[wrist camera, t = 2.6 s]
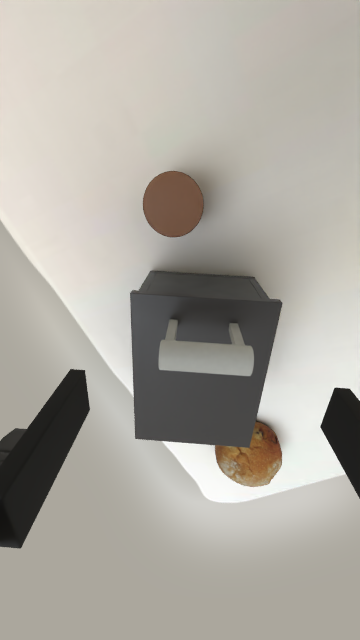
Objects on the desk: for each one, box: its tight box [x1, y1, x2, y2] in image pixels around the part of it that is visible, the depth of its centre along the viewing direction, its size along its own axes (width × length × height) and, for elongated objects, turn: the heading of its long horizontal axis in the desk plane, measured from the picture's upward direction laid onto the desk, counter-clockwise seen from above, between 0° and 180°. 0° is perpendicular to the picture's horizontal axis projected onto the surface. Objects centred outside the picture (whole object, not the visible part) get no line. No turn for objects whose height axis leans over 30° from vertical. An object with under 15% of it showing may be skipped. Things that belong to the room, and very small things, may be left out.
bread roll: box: [215, 422, 282, 487], centre depth 40 cm, size 10×10×8 cm
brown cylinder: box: [143, 171, 203, 237], centre depth 25 cm, size 5×5×7 cm
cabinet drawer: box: [130, 290, 282, 448], centre depth 22 cm, size 16×12×7 cm
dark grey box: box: [139, 271, 269, 299], centre depth 30 cm, size 16×12×10 cm
